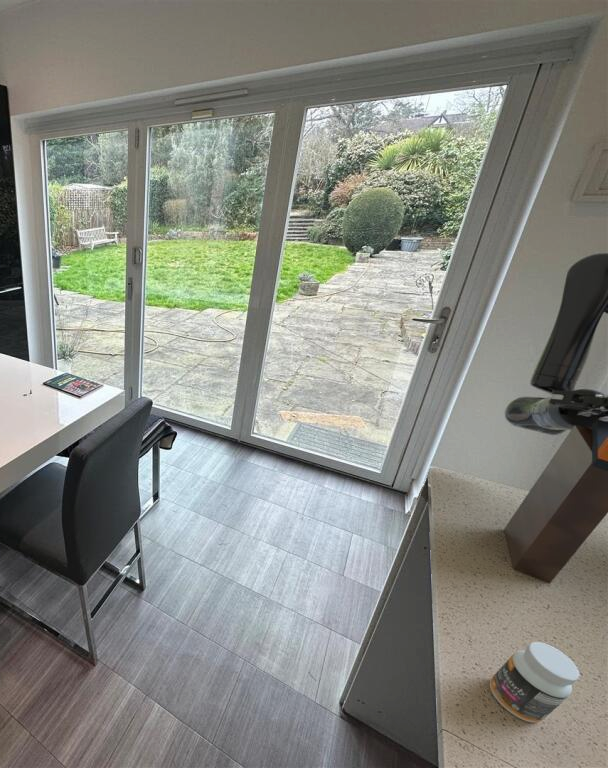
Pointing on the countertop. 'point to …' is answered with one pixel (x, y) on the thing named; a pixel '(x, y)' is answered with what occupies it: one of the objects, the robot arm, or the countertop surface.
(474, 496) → the countertop surface
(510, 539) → the walnut stand
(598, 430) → the back pad
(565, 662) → the pill bottle
